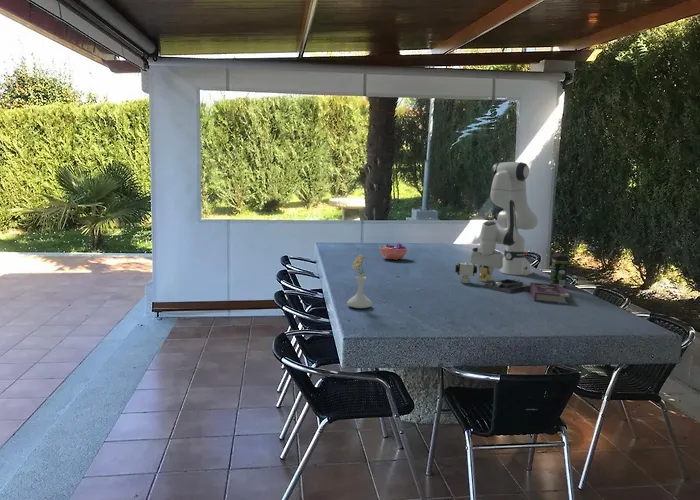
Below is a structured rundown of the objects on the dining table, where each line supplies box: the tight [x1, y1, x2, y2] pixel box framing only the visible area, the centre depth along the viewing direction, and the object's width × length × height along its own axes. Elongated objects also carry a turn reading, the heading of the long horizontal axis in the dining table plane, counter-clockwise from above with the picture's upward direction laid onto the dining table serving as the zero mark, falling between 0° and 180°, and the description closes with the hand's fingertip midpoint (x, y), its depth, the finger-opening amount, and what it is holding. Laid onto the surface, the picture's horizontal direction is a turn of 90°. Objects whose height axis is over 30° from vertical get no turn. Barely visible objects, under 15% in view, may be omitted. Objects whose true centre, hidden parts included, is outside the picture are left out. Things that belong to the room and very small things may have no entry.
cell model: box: [379, 242, 410, 261], centre depth 392 cm, size 17×20×11 cm
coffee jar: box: [549, 252, 569, 288], centre depth 327 cm, size 10×8×19 cm
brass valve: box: [478, 266, 493, 283], centre depth 333 cm, size 9×5×11 cm, turn 131°
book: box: [529, 282, 570, 304], centre depth 299 cm, size 25×16×5 cm, turn 168°
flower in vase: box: [346, 253, 373, 309], centre depth 260 cm, size 13×11×25 cm
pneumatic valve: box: [454, 261, 478, 284], centre depth 326 cm, size 6×12×12 cm, turn 87°
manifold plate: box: [483, 277, 530, 294], centre depth 316 cm, size 20×16×4 cm
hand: (485, 273), depth 334 cm, fingers closed on brass valve, 5 cm apart
